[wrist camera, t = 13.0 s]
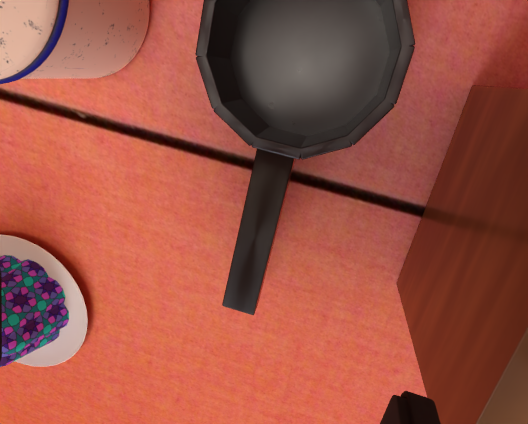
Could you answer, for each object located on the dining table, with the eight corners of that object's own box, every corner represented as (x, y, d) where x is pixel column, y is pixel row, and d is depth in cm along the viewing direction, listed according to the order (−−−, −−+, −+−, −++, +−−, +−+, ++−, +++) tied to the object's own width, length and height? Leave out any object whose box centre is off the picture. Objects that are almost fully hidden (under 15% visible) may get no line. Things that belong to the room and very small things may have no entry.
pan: (243, -60, 22) (218, -96, 18) (423, -21, 22) (446, -48, 17) (187, 254, 29) (158, 287, 25) (322, 293, 28) (318, 336, 24)
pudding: (-57, 228, 32) (-127, 255, 28) (78, 233, 30) (28, 263, 25) (-19, 354, 36) (-76, 397, 31) (103, 366, 34) (63, 415, 29)
